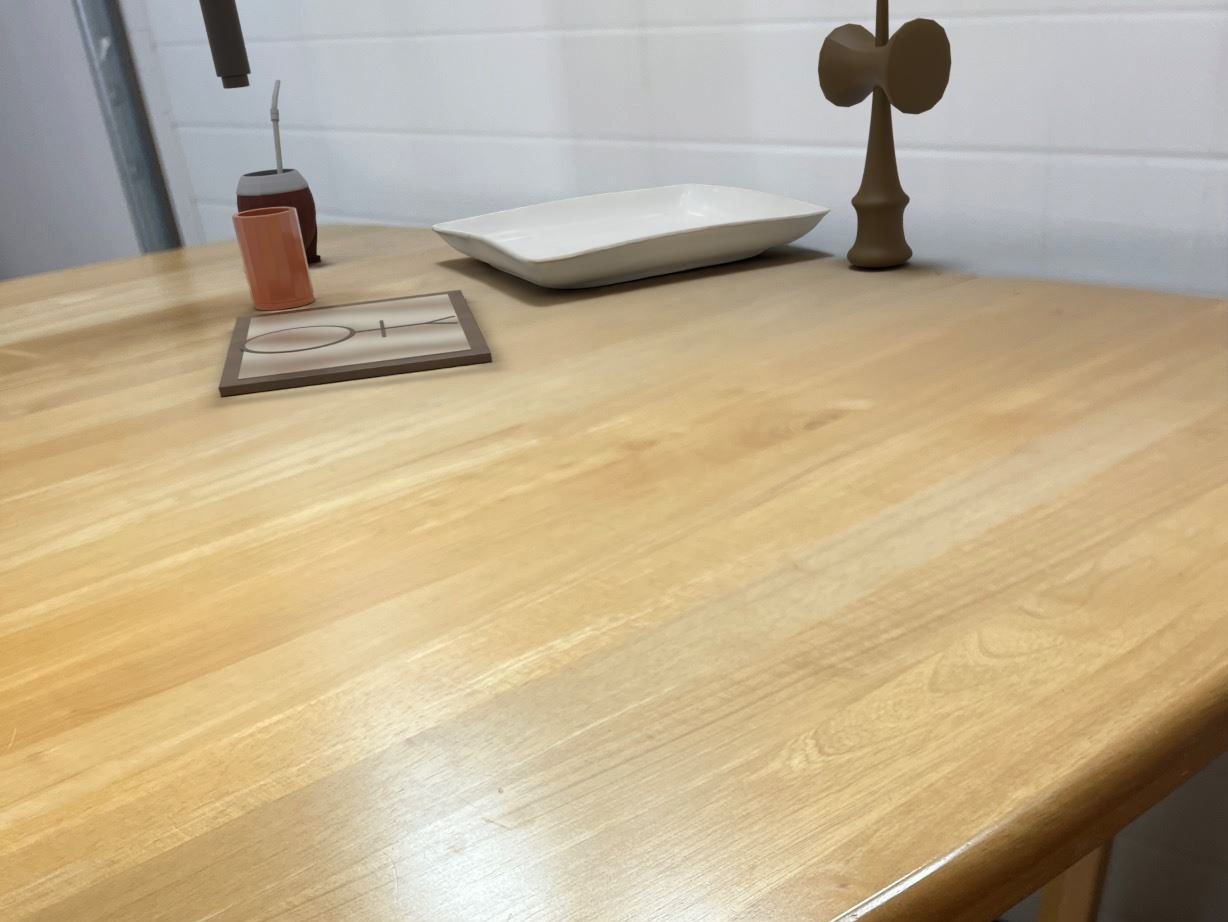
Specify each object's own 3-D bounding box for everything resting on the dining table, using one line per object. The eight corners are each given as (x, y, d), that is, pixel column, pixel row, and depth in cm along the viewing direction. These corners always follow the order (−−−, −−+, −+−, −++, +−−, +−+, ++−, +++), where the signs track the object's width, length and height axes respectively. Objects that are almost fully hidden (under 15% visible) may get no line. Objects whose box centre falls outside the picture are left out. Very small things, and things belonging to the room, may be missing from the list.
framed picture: (492, 361, 91) (490, 350, 90) (220, 396, 88) (217, 385, 88) (461, 297, 110) (460, 288, 110) (238, 324, 108) (236, 315, 107)
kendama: (887, 279, 103) (891, -37, 92) (813, 264, 110) (809, -31, 99) (947, 266, 106) (959, -44, 94) (872, 252, 113) (874, -38, 101)
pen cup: (277, 312, 111) (256, 218, 107) (241, 307, 114) (219, 216, 110) (327, 299, 114) (308, 207, 110) (290, 295, 117) (270, 205, 113)
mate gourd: (263, 276, 126) (220, 90, 118) (242, 266, 132) (200, 88, 123) (339, 263, 129) (303, 81, 120) (315, 254, 135) (279, 79, 126)
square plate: (694, 220, 134) (691, 176, 131) (836, 255, 113) (836, 203, 111) (433, 262, 125) (426, 216, 123) (536, 307, 104) (529, 253, 102)
